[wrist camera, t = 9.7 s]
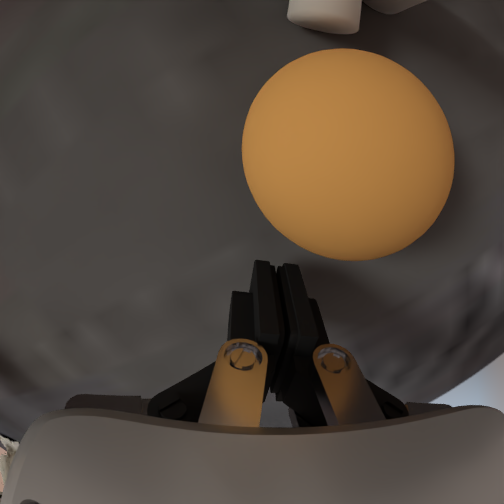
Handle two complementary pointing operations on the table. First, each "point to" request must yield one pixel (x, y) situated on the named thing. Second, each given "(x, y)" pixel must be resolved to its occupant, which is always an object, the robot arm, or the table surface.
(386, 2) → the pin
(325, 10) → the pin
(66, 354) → the table surface
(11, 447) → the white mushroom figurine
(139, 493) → the robot arm
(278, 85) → the ball
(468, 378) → the table surface
